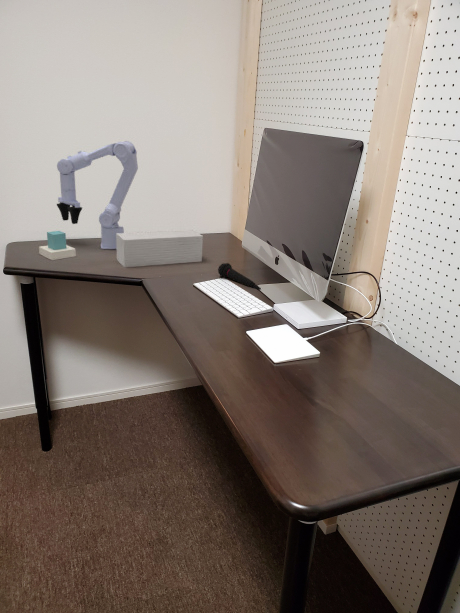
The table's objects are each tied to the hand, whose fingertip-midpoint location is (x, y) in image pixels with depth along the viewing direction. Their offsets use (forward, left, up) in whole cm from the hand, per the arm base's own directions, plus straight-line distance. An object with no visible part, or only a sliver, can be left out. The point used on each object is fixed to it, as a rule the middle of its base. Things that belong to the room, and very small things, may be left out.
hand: (70, 221), depth 195 cm
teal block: (+5, +18, -6) cm, 20 cm away
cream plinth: (+5, +18, -9) cm, 21 cm away
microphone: (-58, +56, -10) cm, 81 cm away
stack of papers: (-34, +27, -10) cm, 45 cm away
